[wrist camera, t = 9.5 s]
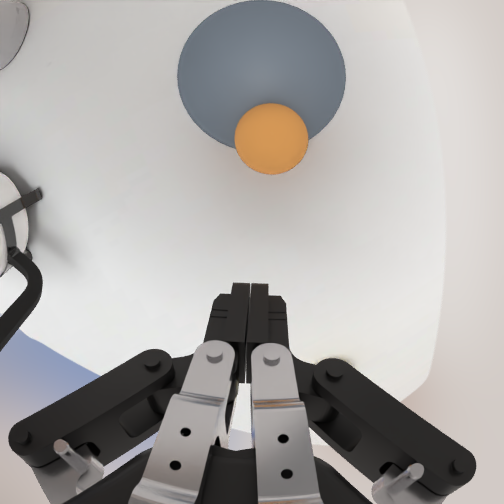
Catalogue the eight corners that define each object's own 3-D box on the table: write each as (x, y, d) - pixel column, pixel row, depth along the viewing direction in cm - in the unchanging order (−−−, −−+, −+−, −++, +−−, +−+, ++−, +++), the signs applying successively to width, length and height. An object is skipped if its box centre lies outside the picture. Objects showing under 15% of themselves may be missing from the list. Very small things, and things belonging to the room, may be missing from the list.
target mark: (179, 152, 24) (178, 153, 24) (180, 5, 18) (179, 5, 18) (340, 157, 24) (341, 157, 24) (344, 8, 17) (345, 8, 17)
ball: (237, 117, 17) (247, 84, 20) (223, 179, 21) (233, 139, 24) (322, 140, 18) (315, 103, 21) (295, 196, 22) (294, 154, 25)
